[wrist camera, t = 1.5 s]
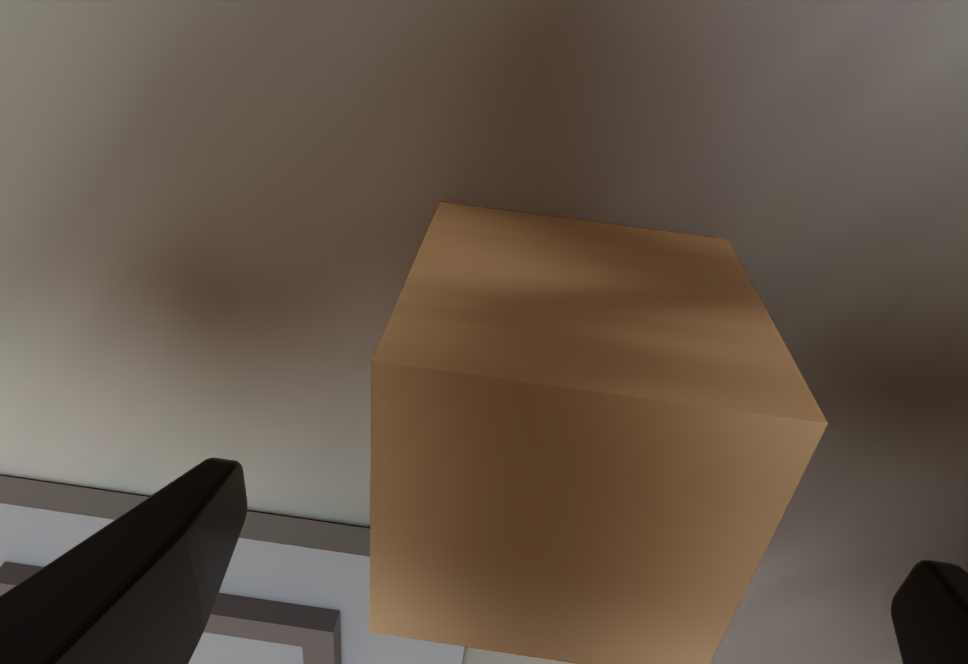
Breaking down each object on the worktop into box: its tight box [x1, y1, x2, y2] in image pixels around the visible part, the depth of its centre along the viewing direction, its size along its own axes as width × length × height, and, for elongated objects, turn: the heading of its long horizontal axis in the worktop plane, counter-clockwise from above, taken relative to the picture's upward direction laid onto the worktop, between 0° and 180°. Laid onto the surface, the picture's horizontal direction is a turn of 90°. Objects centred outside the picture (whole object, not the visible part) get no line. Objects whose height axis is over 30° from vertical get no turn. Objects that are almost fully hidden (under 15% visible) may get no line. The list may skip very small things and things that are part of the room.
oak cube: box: [369, 202, 828, 664], centre depth 11 cm, size 5×5×5 cm
